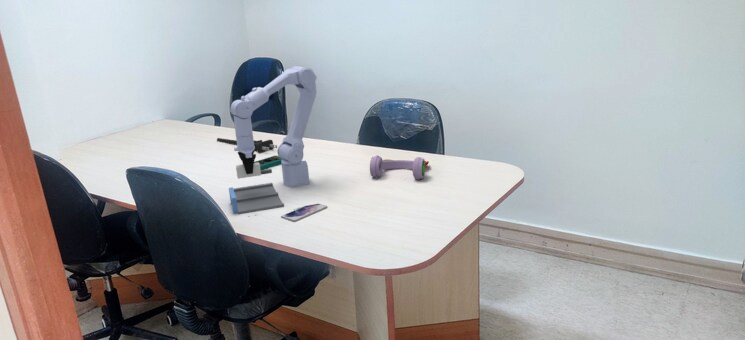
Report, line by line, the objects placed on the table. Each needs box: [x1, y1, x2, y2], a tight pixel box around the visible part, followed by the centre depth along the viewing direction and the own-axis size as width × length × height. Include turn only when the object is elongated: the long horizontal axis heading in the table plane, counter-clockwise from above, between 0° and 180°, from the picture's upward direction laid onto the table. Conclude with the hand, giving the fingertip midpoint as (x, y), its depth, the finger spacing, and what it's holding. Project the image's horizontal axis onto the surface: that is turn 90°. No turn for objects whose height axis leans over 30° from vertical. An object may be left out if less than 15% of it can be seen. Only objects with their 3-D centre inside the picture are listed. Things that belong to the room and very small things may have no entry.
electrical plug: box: [216, 137, 278, 154], centre depth 260 cm, size 9×42×5 cm, turn 51°
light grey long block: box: [235, 162, 273, 179], centre depth 193 cm, size 12×3×4 cm, turn 109°
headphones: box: [369, 155, 430, 181], centre depth 212 cm, size 20×10×20 cm
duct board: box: [228, 182, 285, 215], centre depth 190 cm, size 16×24×6 cm
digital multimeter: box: [254, 155, 282, 170], centre depth 230 cm, size 7×15×3 cm, turn 138°
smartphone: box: [280, 203, 329, 223], centre depth 179 cm, size 7×1×15 cm
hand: (248, 172), depth 193 cm, fingers closed on light grey long block, 3 cm apart
